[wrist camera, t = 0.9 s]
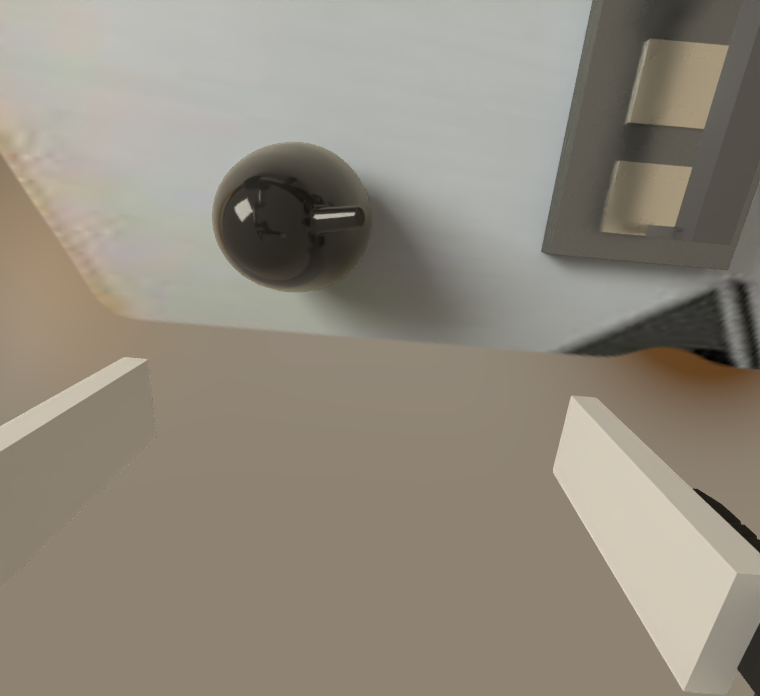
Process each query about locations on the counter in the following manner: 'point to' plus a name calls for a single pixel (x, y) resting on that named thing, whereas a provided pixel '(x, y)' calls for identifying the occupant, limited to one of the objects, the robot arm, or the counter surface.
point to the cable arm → (725, 144)
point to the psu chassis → (640, 131)
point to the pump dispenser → (292, 217)
